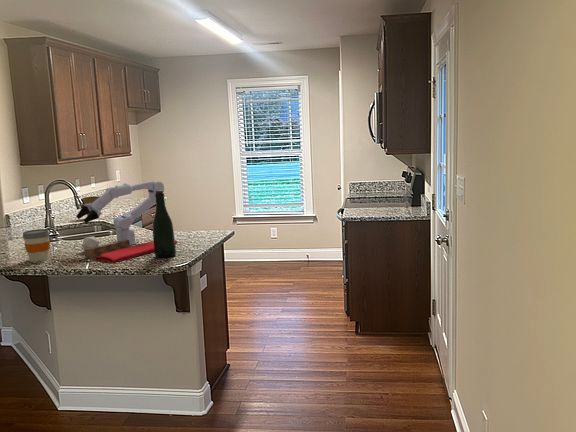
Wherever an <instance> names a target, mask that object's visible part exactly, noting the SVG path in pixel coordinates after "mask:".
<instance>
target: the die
mask: <svg viewBox="0 0 576 432" xmlns="http://www.w3.org/2000/svg"><path fill="white" fill-rule="evenodd" d="M99 244H100V242H99V241H98V239H97V238H96V237H95V236H88V237H84V238H83V241H82V244H81V247H82V248H83V250H85V249H89V248H93V247H97V246H100V245H99Z"/></svg>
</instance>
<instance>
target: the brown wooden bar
mask: <svg viewBox="0 0 576 432" xmlns="http://www.w3.org/2000/svg"><path fill="white" fill-rule="evenodd" d="M130 246H131V245H130V242H129V240H122V241H118V242H117V241H115V242H111V243H106V244H102V245H98V246H97V247H93V248H89V249H85V250H84V249H83V250H84V258H85V259H87V258H88V259H87V260H89V258H90V259H94V258H96V257H97V256H100V255H101V254H103V253H106V252H111V251H115V250H119V249H122V248H127V247H130ZM93 257H94V258H93Z"/></svg>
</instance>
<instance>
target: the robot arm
mask: <svg viewBox="0 0 576 432" xmlns="http://www.w3.org/2000/svg"><path fill="white" fill-rule="evenodd" d="M139 190H141V191H142V190H147V191H148V197H147V198H146V199H144V200H143V201H142V202H141V203H139V204H138V205H136V206H135V207H134V208H132V209H131V210H130V211H129V212H127V213H124V214H122V215H120V216H118V217H115V218H114V220H113V226H114V227H115V228H116V229H115V232H116V233H115V234H116V242H118V241H122V240H129V242H130V246H133V245H137V242H136V236H135V230H134V229H133V228H131V227H130V226H131V225H133V223H134V221H135V220H136V219H137V218H138V217H140V216H142V214H144V213H145V212H147V211H148V210H149V209H150V208H151V207H153V206H154V205H156V198H155V194H156V191H159V190H162V191H163V193H164V192H165V186H164V183H163V182H162V181H155V180H151V181H150V180H149V181H144V182H140V183H136V184H133V185H131V184H129V183H123V184H122V185H115V187H114V186H113V187H111V186H110V187H107V188H106V190H105V192H104V193H103V194H101V195H99V196H100V197H99V198H98V199H97V200H95V201H94V202H93V203H92V204H91V203H89V204H85V205H83V204H82V205H81V208H80V210H79V211H78V213H77V214H76V218H77V219H78V220H80V219H81V218H83V217H84V216H85V215H86V216H85V218H83V220H82V221H83V222H84V223H85V224H88V223H89V222H92V221H95V220H98V219H99V218H100V217H101V216H102V215H103V213H102V210H103V209H105V207H107V206H108V205H109V204H110V203H111V202H112V201H113V200H114V199H118V198H120V197H123V196H124V197H125V196H127V195H131V194H132V192H135V191H139ZM89 210H91V212H90V211H89ZM100 210H101V211H100ZM87 214H89V215H88V216H87ZM98 216H99V217H98Z"/></svg>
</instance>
